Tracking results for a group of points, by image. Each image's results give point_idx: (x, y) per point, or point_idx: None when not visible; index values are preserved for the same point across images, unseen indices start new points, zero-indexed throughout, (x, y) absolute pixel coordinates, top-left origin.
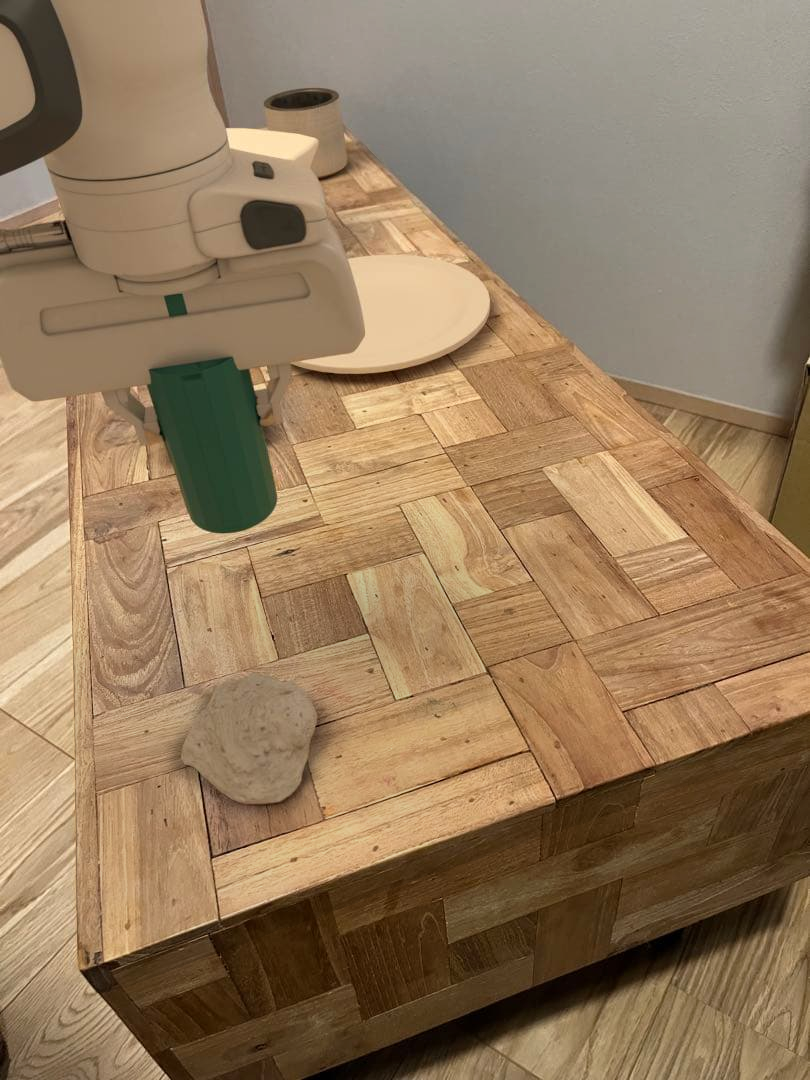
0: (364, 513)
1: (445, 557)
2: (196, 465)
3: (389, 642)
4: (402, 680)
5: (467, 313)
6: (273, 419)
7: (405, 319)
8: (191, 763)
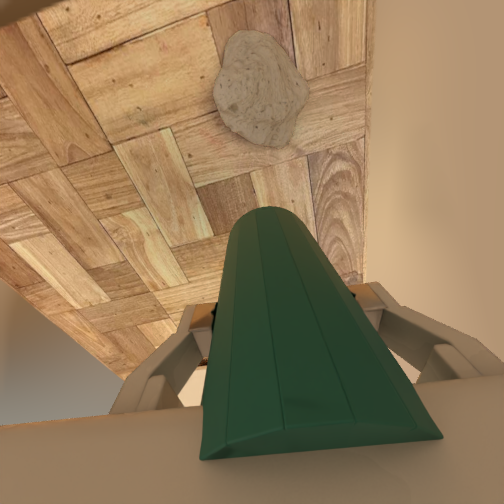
0: (208, 278)
1: (156, 242)
2: (300, 246)
3: (180, 178)
4: (167, 144)
5: None
6: (195, 309)
7: (200, 393)
8: (302, 77)
